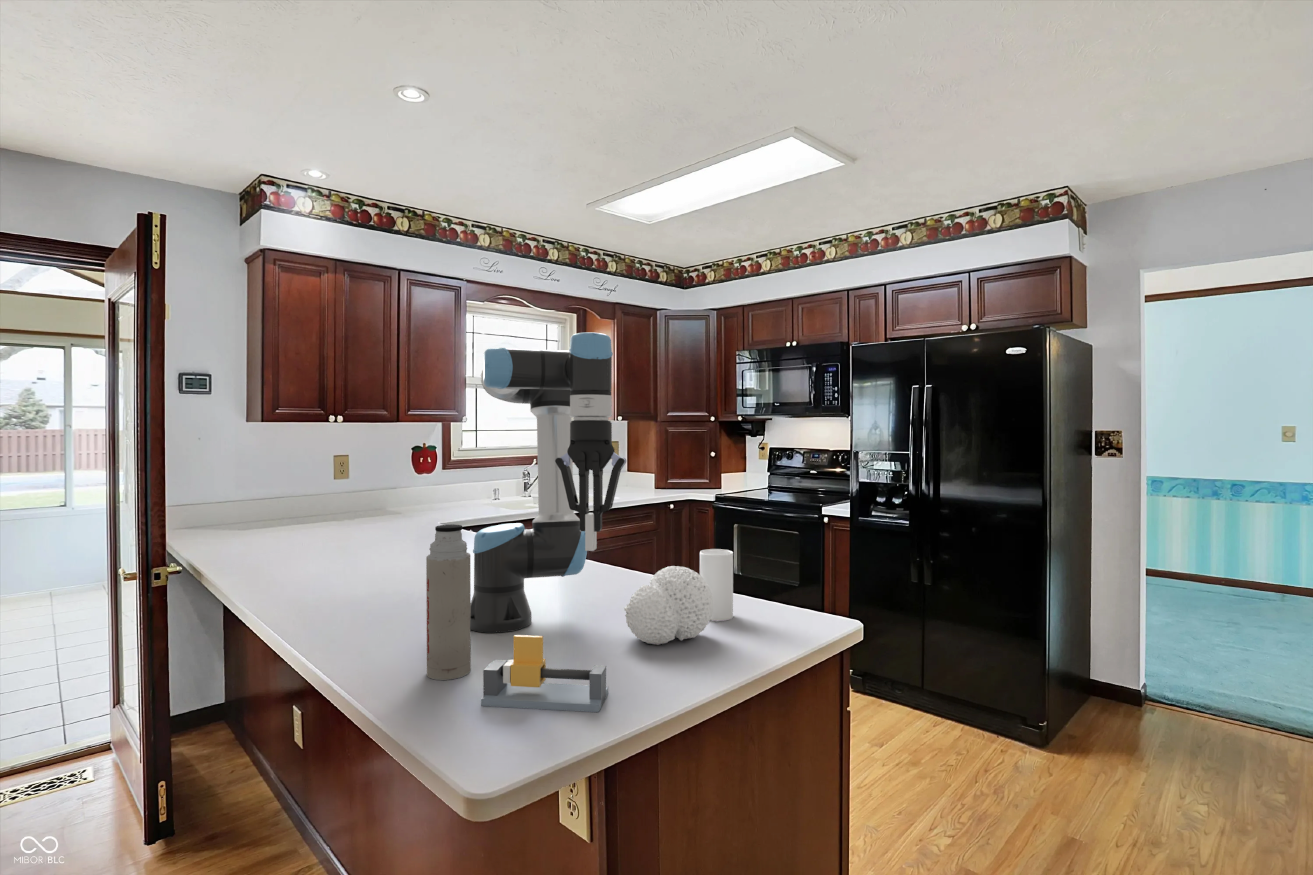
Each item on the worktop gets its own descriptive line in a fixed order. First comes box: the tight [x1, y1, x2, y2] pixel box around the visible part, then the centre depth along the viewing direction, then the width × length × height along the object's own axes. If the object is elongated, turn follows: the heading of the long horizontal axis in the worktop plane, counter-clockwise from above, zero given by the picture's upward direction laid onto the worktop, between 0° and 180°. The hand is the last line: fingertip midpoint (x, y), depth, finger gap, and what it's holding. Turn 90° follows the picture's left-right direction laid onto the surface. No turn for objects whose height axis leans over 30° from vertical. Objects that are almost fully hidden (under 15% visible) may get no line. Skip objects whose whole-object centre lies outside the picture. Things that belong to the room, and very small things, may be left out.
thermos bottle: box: [425, 524, 472, 681], centre depth 127 cm, size 8×8×28 cm
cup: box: [699, 548, 734, 622], centre depth 165 cm, size 8×8×16 cm
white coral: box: [623, 565, 713, 646], centre depth 147 cm, size 20×18×16 cm
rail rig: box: [480, 659, 609, 713], centre depth 114 cm, size 20×8×6 cm, turn 83°
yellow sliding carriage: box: [511, 634, 547, 687], centre depth 114 cm, size 5×4×8 cm
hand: (590, 549), depth 121 cm, fingers closed
